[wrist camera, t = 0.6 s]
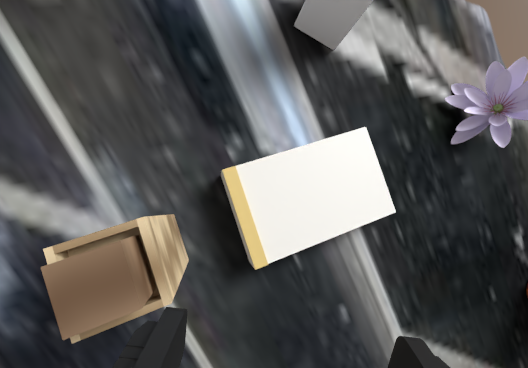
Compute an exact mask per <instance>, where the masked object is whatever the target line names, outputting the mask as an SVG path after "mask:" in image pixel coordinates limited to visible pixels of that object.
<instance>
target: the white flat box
mask: <svg viewBox="0 0 528 368" xmlns="http://www.w3.org/2000/svg"><path fill="white" fill-rule="evenodd" d="M221 178H222V181H223V184H224V187H225V190H226V193H227V196H228V199H229V202H230V205H231V208H232V211H233V214H234V217H235V220H236V223H237V226H238V229H239V232H240V235H241V238H242V241H243V244H244V248H245V251H246V254H247V257H248V260H249V263H250V264H251V265H252V266H253V268H254V269H255V270H256V269H259V268H261V267H264V266H266V265H268V264H269V263H272V262H274V261H276V260H279V259H281V258H284V257H286V256H289V255H291V254H294V253H296V252H299V251H301V250H304V249H306V248H309V247H311V246H313V245H316V244H318V243H321V242H323V241H326V240H328V239H331V238H333V237H336V236H338V235H341V234H343V233H346V232H348V231H351V230H353V229H355V228H358V227H360V226H363V225H365V224H368V223H370V222H373V221H375V220H378V219H380V218H383V217H385V216H388V215H390V214H392V213H395V212H396V211H395V208H394V205H393V202H392V199H391V197H390V194H389V191H388V188H387V185H386V182H385V180H384V177H383V174H382V171H381V168H380V165H379V163H378V160H377V157H376V154H375V151H374V148H373V145H372V143H371V140H370V137H369V134H368V131H367V128H366V127H363V128H360V129H357V130H354V131H350V132H347V133H344V134H340V135H337V136H334V137H330V138H327V139H324V140H320V141H317V142H314V143H311V144H307V145H304V146H301V147H297V148H294V149H291V150H287V151H284V152H281V153H277V154H274V155H271V156H268V157H264V158H261V159H258V160H254V161H251V162H248V163H244V164H241V165H238V166H233V167H230V168H227V169H223V170H222V172H221Z"/></svg>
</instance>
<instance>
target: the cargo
mask: <svg viewBox="0 0 528 368" xmlns="http://www.w3.org/2000/svg"><path fill="white" fill-rule="evenodd" d="M41 270H42V274H43V277H44V280H45V284H46V287H47V290H48V293H49V297H50V300H51V303H52V307H53V310H54V313H55V317H56V320H57V323H58V326H59V330H60V333H61V336H62V340H65V339H68V338H70V337H73V336H75V335H78V334H80V333H83V332H85V331H88V330H90V329H93V328H95V327H98V326H100V325H103V324H105V323H108V322H110V321H113V320H115V319H118V318H120V317H123V316H125V315H128V314H130V313H133V312H135V311H138V310H140V309H142V308H143V306H144V305H145V303H146V302H147V300H148V299H149V298H150V296H151V295H152V293H153V292H154V290H155V289H156V287H155V284H154V281H153V278H152V275H151V271H150V268H149V265H148V262H147V259H146V256H145V252H144V249H143V246H142V243H141V240H140V237H139V234H138V235H135V236H132V237H129V238H126V239H123V240H120V241H117V242H114V243H111V244H108V245H105V246H102V247H99V248H96V249H93V250H90V251H87V252H84V253H81V254H78V255H75V256H72V257H69V258H66V259H63V260H60V261H57V262H54V263H51V264H48V265H45V266H42V267H41Z"/></svg>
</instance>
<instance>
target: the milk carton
mask: <svg viewBox="0 0 528 368" xmlns="http://www.w3.org/2000/svg"><path fill="white" fill-rule="evenodd" d="M372 1H373V0H305V2H304V4H303V6H302V9H301V11H300V13H299V15H298V17H297V19H296V22H295V24H294V27H296V28H297V29H299V30H301V31H302V32H304V33H306V34H307V35H309V36H311V37H312V38H314V39H316V40H317V41H319V42H321V43H322V44H324V45H326V46H327V47H329V48H331V49H332V50H335V49H336V48H337V46H338V45H339V44H340V42H341V41H342V40H343V39H344V37H345V36H346V35H347V33H348V32H349V31H350V30H351V28H352V27H353V26H354V25H355V23H356V22H357V21H358V19H359V18H360V17H361V16H362V14H363V13H364V12H365V10H366V9H367V8H368V7H369V5H370V4H371V3H372Z"/></svg>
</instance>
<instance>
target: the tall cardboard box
mask: <svg viewBox="0 0 528 368" xmlns="http://www.w3.org/2000/svg"><path fill="white" fill-rule="evenodd" d="M138 234H139V237H140V240H141V243H142V246H143V249H144V252H145V256H146V259H147V262H148V265H149V268H150V271H151V275H152V278H153V281H154V284H155V287H156V289H155V290H154V292H153V293H152V295H151V296H150V298H149V299H148V300H147V302H146V303H145V305H144V306H143V308H142V309H140V310H138V311H135V312H133V313H130V314H128V315H125V316H123V317H120V318H118V319H115V320H113V321H110V322H108V323H105V324H103V325H100V326H98V327H95V328H93V329H90V330H88V331H85V332H83V333H80V334H78V335H75V336H73V337H70V339H71V343H72V344H73V343H75V342H77V341H80V340H82V339H85V338H87V337H90V336H92V335H95V334H97V333H100V332H102V331H105V330H107V329H110V328H112V327H114V326H117V325H119V324H122V323H124V322H127V321H129V320H132V319H134V318H137V317H139V316H142V315H144V314H147V313H149V312H151V311H154V310H156V309H159V308H161V307H164V306H166V305H169V304H171V303H172V301H173V298H174V296H175V293H176V291H177V288H178V286H179V283H180V281H181V279H182V276H183V274H184V271H185V269H186V266H187V264H188V261H189V260H188V256H187V253H186V250H185V247H184V244H183V241H182V238H181V235H180V232H179V229H178V225H177V222H176V219H175V216H174V214H172V215H159V216H147V217H142V218H138V219H135V220H132V221H129V222H126V223H123V224H120V225H117V226H114V227H110V228H107V229H104V230H101V231H98V232H95V233H92V234H89V235H86V236H83V237H79V238H76V239H73V240H70V241H67V242H64V243H61V244H58V245H55V246H51V247H48V248H45V249H43V251H44V254H45V257H46V260H47V264H51V263H54V262H57V261H60V260H63V259H66V258H69V257H72V256H75V255H78V254H81V253H84V252H87V251H90V250H93V249H96V248H99V247H102V246H105V245H108V244H111V243H114V242H117V241H120V240H123V239H126V238H129V237H132V236H135V235H138Z"/></svg>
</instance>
